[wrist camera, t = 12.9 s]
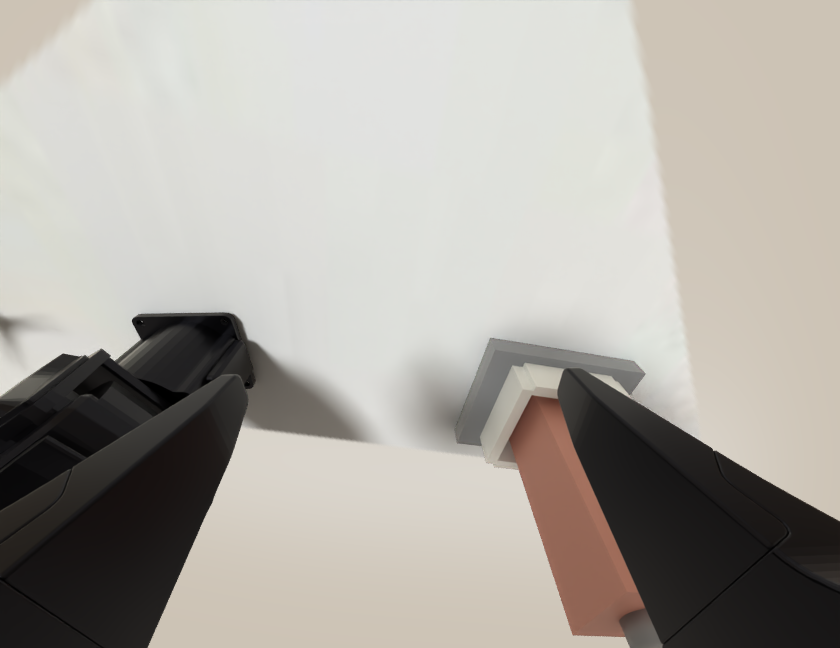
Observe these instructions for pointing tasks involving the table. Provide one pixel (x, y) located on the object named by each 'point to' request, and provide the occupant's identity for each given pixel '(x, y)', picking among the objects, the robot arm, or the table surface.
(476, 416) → the grey socket base
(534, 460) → the pink square bar
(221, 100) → the table surface
